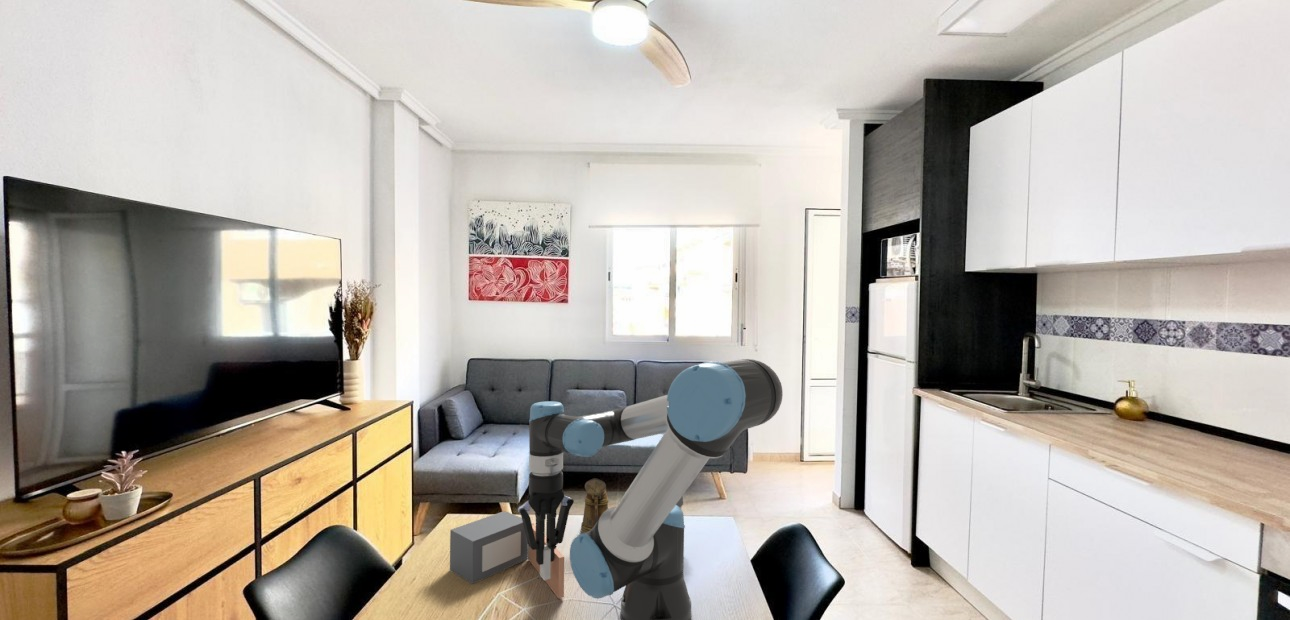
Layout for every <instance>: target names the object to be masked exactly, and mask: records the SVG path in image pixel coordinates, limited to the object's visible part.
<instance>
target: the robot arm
mask: <svg viewBox="0 0 1290 620" xmlns="http://www.w3.org/2000/svg"><path fill="white" fill-rule="evenodd" d="M782 401H783V386H782V383H781V381H780V378H779V376H778V375H777V373H776V372H775V371H774V370H773V369H772V368H771V366H769V365H767V364H766V363H764V362H762V361H760V360H756V359H753V358H752V359H751V358H743V359H742V358H741V359H737V360H736V359H735V360H728V361H719V362H718V361H706V362H702V363H698V364H697V365H692V366H690V367H687V368H686V369H684V370H682V371H681V372H680V373H679V374H677V376H676V377H675V378H674V379H673V381H672V382H671V384H670V386H669V389H668V391H667V394H666V395H661V396H659V397H655V398H652V399H648V400H645V401H641V402H637V403H635V404H632V405H631V404H630V405H627V406H624V407H620V408H616V409H612V410H607V411H603V412H596V413H592V414H591V413H590V414H584V415H580V416H578V415H577V416H573V415H568V414H565V408H564V404H562V403H561V402H559V401H550V400H549V401H548V400H547V401H539V402H534V403H533V404H532V405H531V406H530V410H529V411H530V412H529V420H528V423H529V424H528V425H529V426H528V427H529V435H528V437H529V439H528V440H529V441H528V442H529V446H528V447H529V450H528V451H529V461H528V471H529V474H528V495H527V497H526V501H525V502H524V503H523V504H522V505H517V507H516V510H517V512H518V513H519V515H520V517H521V518H522V521H523V525H524V530H525V534H526V538H527V542H528V545H529V546H530V548H531V549H532V550H535V549H536V561H537V563H538V564H539V565H540V574H539V576H540V577H541V578H542V580H543V581H545V580H548V579H550V565H551V562H552V561H554V549H556V548H557V545H558V544H562V543H563V541H564V536H565V532H566V528H567V523H568V518H569V515H570V514H569V513H570V510H571V508H572V507H573V504H574V503H575V502H574V501H575V500H574V499H573V498H571V497H570V496H569V495H568V496H566V495H565V492H564V489H563V488H564V487H563V486H564V473H563V471H562V470H563V469H564V452H565V453H568V454H570V455H572V456H576V457H584V458H589V457H593V456H595V455H596V454H597V453H598V452H599V451H601V449H602V448H605V447H609V446H612V445H616V444H617V445H618V444H621V443H626V442H632V441H635V440H637V439H642V438H647V437H651V436H657V435H660V434H663V435H662V436H661V438H660V440H659V441H658V443H657V444H656V445H655V447H654V449H653V450H652V451H651V453H650V455H649V456H648V458H647V460H646V461H645V463H644V464H643V466H641V468H640V469H639V471H638V473H637V475H636V476H635V478H634V479H633V481H632V482H631V484H630V485H629V487H628V488H627V490H626V491H625V492H624V495H623V496H622V498H621V499H620V500H619V502H618V503H617V505H616V506H612V507H608V509H607V510H606V511H605V512H604V513H603V514H602V515H601V516H600V518H599V520H598V521H597V523H596V524H595V526H594V527H593V528H592V529H591V530H590V531H589V532H586V533H583V532H582V533H580V534H578V535H577V536H576V537H574V539H572V542H571V545H570V547H569V560H570V566H571V570H572V572H573V575H574V578H575V580H576V582H577V584H578V585H579V587H580V588H581V590H582V591H583V592H584V593H585V594H586V595H587V596H590V597H591V598H593V599H596V600H597V599H603V598H606V597H608V596H612V595H613V594H614V593H616V591H619V590H620V589H623V588H624V587H625V588H624V589H623V590H624V591H623V594H622V597H621V601H620V615H621V617H623V618H622V619H623V620H691V617H692V600H691V597H690V595H689V592H688V591H689V590H688V587H687V585H686V581H685V577H684V576H685V575H684V567H685V566H684V565H685V564H684V559H685V557H684V555H685V554H684V551H685V528H686V525H685V521H684V520H685V517H684V516H685V515H684V512H683V509H682V508H680V507H678V506H677V505H676V504H677V502H678V501H679V500H680V498H681V497H682V496H684V494H686V491H687V490H688V489H689V487H690V486H691V485H692V483H693V481H695V479H696V478H697V476H698V475H699V474H700V472H701V471H702V469H703V468H704V467H705V465H706V464H707V462H708V461H709V460H710V459H720V458H721V457H723V456H724V455H725V454H726V453H727V452H728V450H729V449H730V447H731V446H732V445H733V444H734V442H735V441H736V439H737V438H738V437H739V436H740V434H741V433H742V432H743V431H745V430H749V429H751V428H755V427H758V426H761V425H763V424H765V423H767V422H768V421H770V420H771V419H772V418H774V416H775V415H776V414H777V413H778V411H779V410H780V407H781V404H782ZM559 506H560V508H559ZM530 507H531V509H532V510H533V511H534V516H535V526H536V540H535V536H534V532H533V528H532V523H533V522H532V521H531V520H532V519H531V516H530V512H531V511H530ZM558 508H559V513H558V516H557V510H558ZM556 518H557V521H556ZM545 521H546V522H545ZM545 525H546V527H545ZM545 528H546V529H545ZM545 530H546V531H545ZM545 532H546V534H545ZM545 536H546V543H547V545H545Z"/></svg>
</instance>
